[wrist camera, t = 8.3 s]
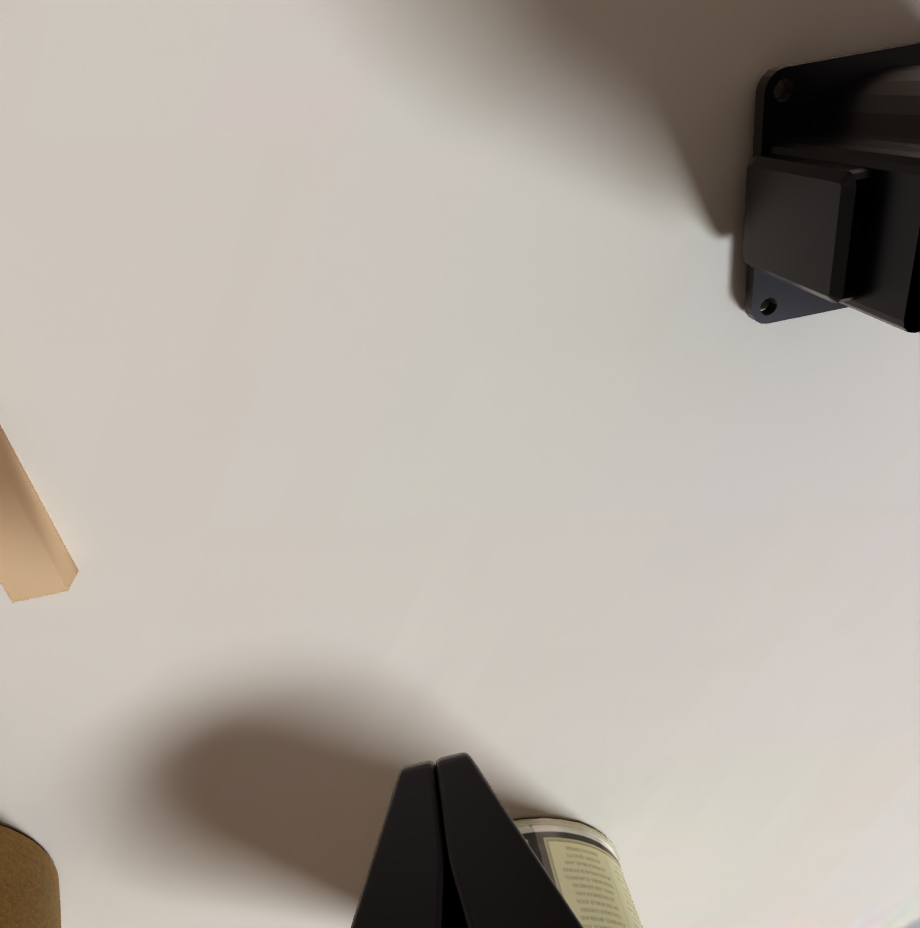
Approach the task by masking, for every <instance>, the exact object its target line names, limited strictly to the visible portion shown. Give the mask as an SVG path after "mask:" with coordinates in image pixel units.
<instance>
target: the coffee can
mask: <svg viewBox="0 0 920 928" xmlns="http://www.w3.org/2000/svg"><path fill="white" fill-rule="evenodd" d="M514 823H515V824H516V826H517V827H518V829H519V830H520V832H521V833H522V835H523V836H524V838H525V839H526V841H527V843H528V844H529V846H530V847H531V849H532V850H533V852H534V853H535V855H536V856H537V858H538V859H539V861H540V862H541V864H542V865H543V867H544V868H545V870H546V871H547V873H548V874H549V876H550V877H551V879H552V880H553V882H554V883H555V885H556V887H557V888H558V890H559V891H560V893H561V894H562V896H563V897H564V899H565V900H566V902H567V903H568V905H569V906H570V908H571V909H572V911H573V912H574V914H575V915H576V917H577V918H578V920H579V921H580V923H581V924H582V926H583V927H584V928H643V927H642V924H641V922H640V919H639V916H638V914H637V911H636V908H635V905H634V903H633V900H632V897H631V895H630V892H629V889H628V886H627V884H626V881H625V878H624V875H623V872H622V869H621V866H620V861H619V856H618V854H617V851H616V849H615V847H614V846H613V844H612V843H611V842H610V841H609V840H608V838H606V837H605V836H604V835H603V834H601V833H600V832H598V831H597V830H595V829H593V828H591V827H588V826H586V825H584V824H581V823H578V822H572V821H567V820H562V819H552V818H538V819H522V820H515V821H514Z"/></svg>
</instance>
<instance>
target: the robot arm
mask: <svg viewBox="0 0 920 928" xmlns="http://www.w3.org/2000/svg"><path fill="white" fill-rule="evenodd" d="M780 80H782V81H783V82H784V87H785V89H784V93H783V95H782V96H781V98H780V99H779V100H776V99H775V96H774V90H775V86H776V85H777V83H778V82H779V81H780ZM743 260H744V261H745V262H746V263H747V275H746V294H745V311H746V313H747V315H748V316H749V317H750V318H752V319H754V320H755V321H757V322H759V323H772V322H777V321H782V320H787V319H792V318H797V317H802V316H807V315H812V314H817V313H821V312H826V311H831V310H836V309H841V308H846V307H851V308H853V309H855V310H858V311H860V312H862V313H865V314H867V315H869V316H872V317H874V318H876V319H879V320H881V321H883V322H886V323H888V324H890V325H893V326H895V327H897V328H900V329H902V330H904V331H907V332H912V333H916V332H919V333H920V42H915V43H910V44H904V45H899V46H893V47H888V48H882V49H876V50H871V51H865V52H860V53H854V54H849V55H843V56H838V57H832V58H827V59H821V60H815V61H810V62H804V63H799V64H793V65H788V66H782V67H777V68H774V69H772V70H769V71H768V72H767V73H766V74H765V75H764V76H763V77H762V78H761V80H760V82H759V84H758V87H757V91H756V104H755V123H754V142H753V159H752V161H751V162H750V164H749V166H748V167H747V178H746V198H745V218H744V238H743ZM768 298H769V300H770V302H769V305H768V307H767V308H766V309H765V310H763V311H760V307H761V304H762V303H763V301H764V300H766V299H768ZM351 928H584V927H583V926H582V924H581V923H580V921H579V920H578V918H577V917H576V915H575V914H574V912H573V911H572V909H571V908H570V906H569V905H568V903H567V902H566V900H565V899H564V897H563V896H562V894H561V893H560V891H559V890H558V888H557V887H556V885H555V883H554V882H553V880H552V879H551V877H550V876H549V874H548V873H547V871H546V870H545V868H544V867H543V865H542V864H541V862H540V861H539V859H538V858H537V856H536V855H535V853H534V852H533V850H532V849H531V847H530V846H529V844H528V843H527V841H526V839H525V838H524V836H523V835H522V833H521V832H520V830H519V829H518V827H517V826H516V824H515V823H514V821H513V820H512V818H511V817H510V815H509V814H508V812H507V811H506V809H505V808H504V806H503V805H502V803H501V802H500V800H499V799H498V797H497V796H496V794H495V792H494V791H493V789H492V788H491V786H490V785H489V783H488V782H487V780H486V779H485V777H484V776H483V774H482V773H481V771H480V770H479V768H478V767H477V765H476V764H475V762H474V761H473V759H472V758H471V756H470V755H468V754H467V753H458V754H454V755H450V756H446V757H441V758H439V759H438V760H437V762H436V766H435V763H434V762H432V761H424V762H420V763H416V764H412V765H407V766H405V767H403V768H402V769H401V771H400V773H399V775H398V778H397V781H396V784H395V787H394V790H393V794H392V797H391V800H390V803H389V806H388V810H387V813H386V816H385V819H384V823H383V826H382V829H381V832H380V835H379V839H378V842H377V845H376V848H375V851H374V855H373V858H372V861H371V864H370V867H369V871H368V874H367V877H366V880H365V883H364V887H363V890H362V893H361V896H360V900H359V903H358V906H357V909H356V912H355V916H354V919H353V922H352V925H351Z"/></svg>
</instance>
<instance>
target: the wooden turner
mask: <svg viewBox="0 0 920 928" xmlns="http://www.w3.org/2000/svg"><path fill="white" fill-rule="evenodd" d="M77 573H78V569H77V567H76V565H75V563H74V561H73V560H72V558H71V556H70V554H69V552H68V550H67V548H66V547H65V545H64V543H63V541H62V539H61V537H60V535H59V533H58V532H57V530H56V528H55V526H54V524H53V522H52V520H51V519H50V517H49V515H48V513H47V511H46V509H45V507H44V506H43V504H42V502H41V500H40V498H39V496H38V494H37V492H36V491H35V489H34V487H33V485H32V483H31V481H30V479H29V478H28V476H27V474H26V472H25V470H24V468H23V466H22V464H21V463H20V461H19V459H18V457H17V455H16V453H15V451H14V450H13V448H12V446H11V444H10V442H9V440H8V438H7V436H6V435H5V433H4V431H3V429H2V427H1V425H0V583H1V585H2V586H3V588H4V590H5V591H6V593H7V595H8V596H9V598H10V600H11V601H12V603H13V602H18V601H23V600H27V599H32V598H37V597H41V596H46V595H51V594H55V593H60V592H65V591H68V590H69V588H70V586H71V584H72V582H73V580H74V579H75V577H76V575H77Z"/></svg>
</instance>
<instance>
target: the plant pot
mask: <svg viewBox="0 0 920 928" xmlns="http://www.w3.org/2000/svg"><path fill="white" fill-rule="evenodd" d="M0 928H61V909H60V893H59V879H58V873H57V870H56V867H55V865H54V863H53V862H52V860H51V858H50V857H49V856H48V854H47V853H46V852H45V851H44V850H43V849H42V848H41V847H40V846H39V845H38V844H36V843H35V842H34V841H32V840H30V839H29V838H27V837H26V836H24V835H22V834H20V833H18V832H16V831H14V830H12V829H10V828H7V827H4V826H1V825H0Z"/></svg>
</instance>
